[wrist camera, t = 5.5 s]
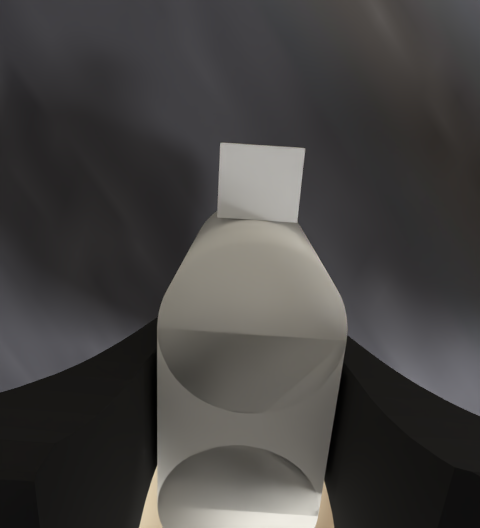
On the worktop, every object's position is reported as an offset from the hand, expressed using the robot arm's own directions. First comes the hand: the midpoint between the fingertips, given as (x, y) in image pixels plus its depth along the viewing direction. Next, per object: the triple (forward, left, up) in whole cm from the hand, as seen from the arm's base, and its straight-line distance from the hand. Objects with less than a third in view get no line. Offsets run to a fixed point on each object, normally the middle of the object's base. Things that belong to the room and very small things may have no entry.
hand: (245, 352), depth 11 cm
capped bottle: (0, 0, -2) cm, 2 cm away
